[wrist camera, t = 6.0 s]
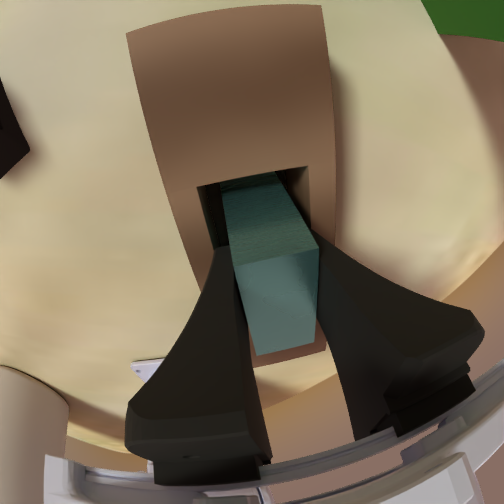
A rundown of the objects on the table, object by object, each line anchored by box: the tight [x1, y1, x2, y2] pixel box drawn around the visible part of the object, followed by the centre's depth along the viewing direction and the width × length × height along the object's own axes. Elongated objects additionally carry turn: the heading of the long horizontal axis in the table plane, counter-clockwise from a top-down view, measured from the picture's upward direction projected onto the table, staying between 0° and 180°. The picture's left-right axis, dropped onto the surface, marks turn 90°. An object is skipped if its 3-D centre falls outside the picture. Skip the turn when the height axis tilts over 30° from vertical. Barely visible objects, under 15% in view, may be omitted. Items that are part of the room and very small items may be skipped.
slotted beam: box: [126, 4, 336, 368], centre depth 12 cm, size 18×6×4 cm, turn 8°
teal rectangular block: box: [220, 171, 319, 356], centre depth 11 cm, size 5×2×6 cm, turn 8°
